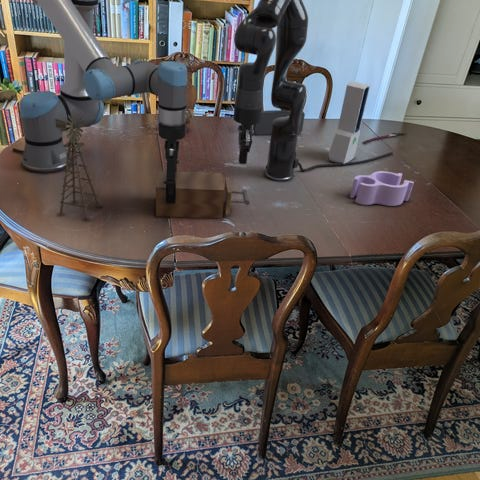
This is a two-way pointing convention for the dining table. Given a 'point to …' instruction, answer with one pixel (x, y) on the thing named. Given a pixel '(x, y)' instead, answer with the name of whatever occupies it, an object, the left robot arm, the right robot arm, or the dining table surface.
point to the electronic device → (349, 123)
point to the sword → (383, 137)
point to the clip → (381, 189)
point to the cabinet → (191, 195)
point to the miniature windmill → (73, 142)
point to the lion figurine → (189, 116)
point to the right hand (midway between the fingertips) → (242, 162)
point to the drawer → (228, 196)
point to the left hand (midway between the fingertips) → (171, 193)
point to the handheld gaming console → (267, 119)
